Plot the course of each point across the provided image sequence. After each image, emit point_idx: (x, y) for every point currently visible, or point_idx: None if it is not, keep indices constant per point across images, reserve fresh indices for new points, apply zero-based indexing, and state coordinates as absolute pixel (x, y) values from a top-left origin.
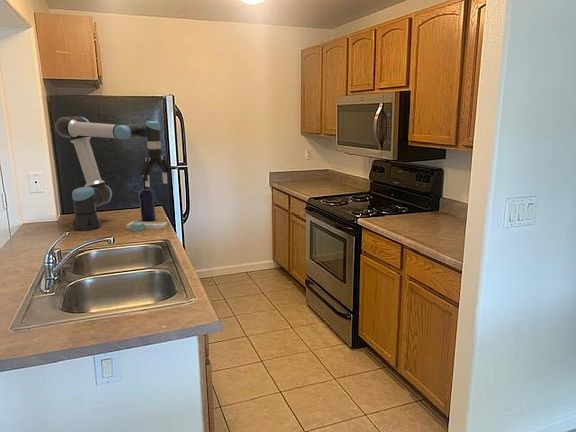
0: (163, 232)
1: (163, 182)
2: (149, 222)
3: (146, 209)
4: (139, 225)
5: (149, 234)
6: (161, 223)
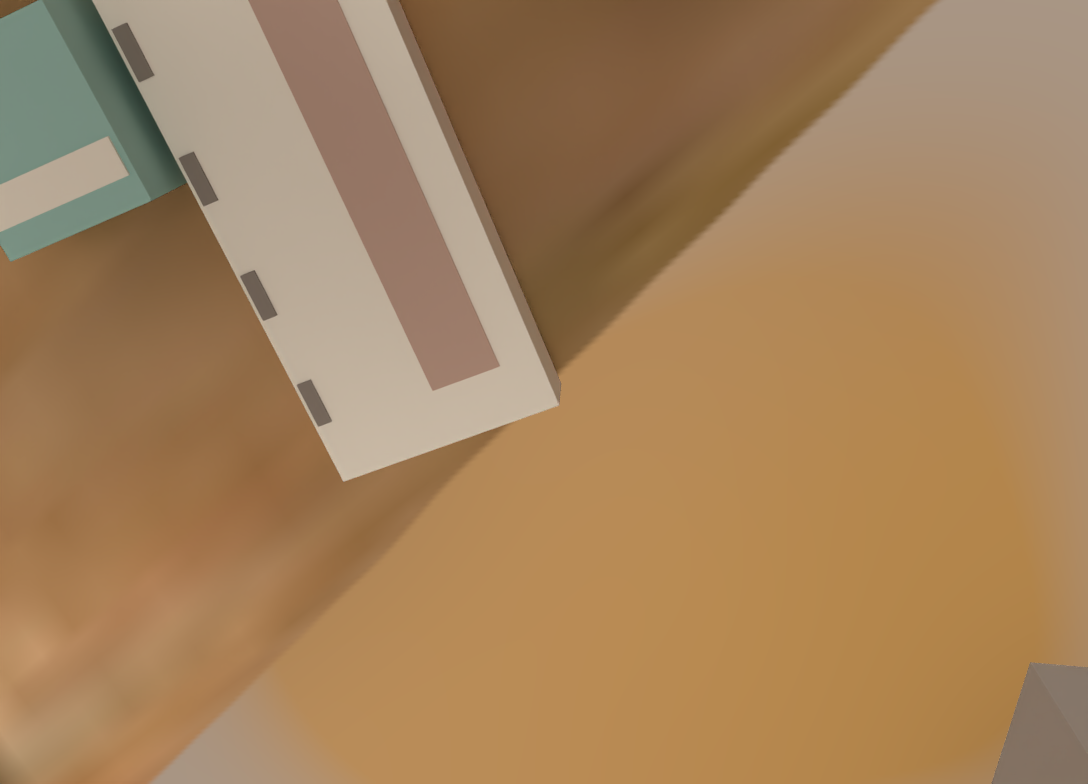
0: (206, 582)
1: (1034, 732)
2: (374, 127)
3: None
4: (6, 236)
5: (22, 478)
6: (426, 379)
